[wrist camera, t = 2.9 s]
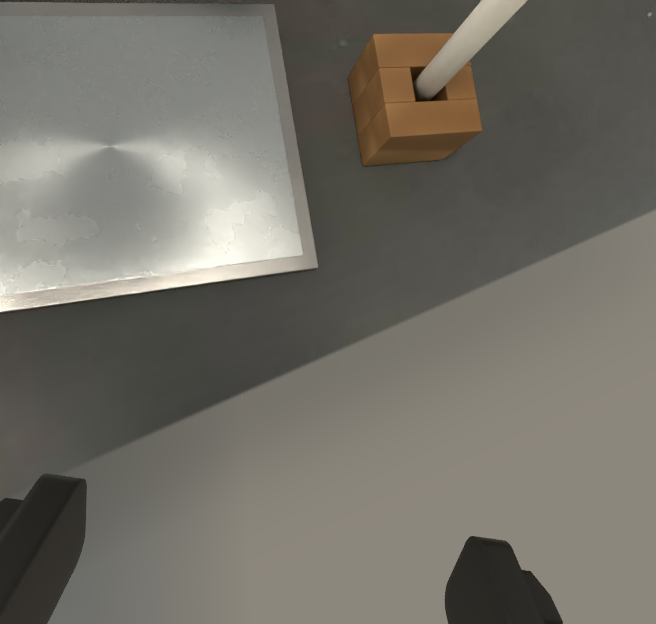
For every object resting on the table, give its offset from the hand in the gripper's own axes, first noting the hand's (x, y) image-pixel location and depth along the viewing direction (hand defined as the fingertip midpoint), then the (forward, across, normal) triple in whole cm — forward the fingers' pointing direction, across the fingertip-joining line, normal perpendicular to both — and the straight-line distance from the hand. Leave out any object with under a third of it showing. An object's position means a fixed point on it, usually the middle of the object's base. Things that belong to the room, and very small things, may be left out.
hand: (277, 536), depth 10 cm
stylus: (+29, -5, -8) cm, 30 cm away
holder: (+29, -5, -8) cm, 30 cm away
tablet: (+23, +12, -3) cm, 26 cm away
